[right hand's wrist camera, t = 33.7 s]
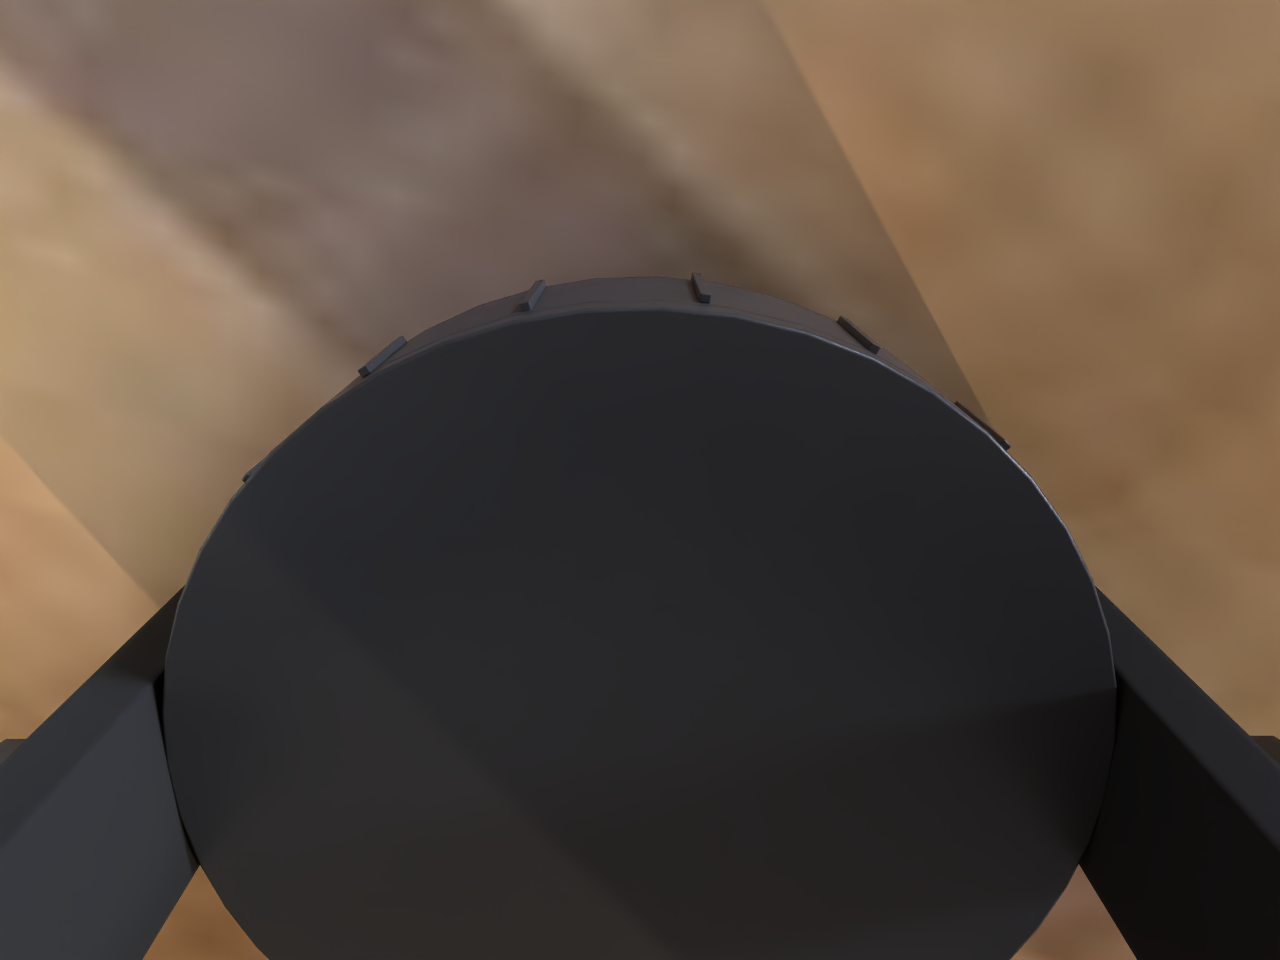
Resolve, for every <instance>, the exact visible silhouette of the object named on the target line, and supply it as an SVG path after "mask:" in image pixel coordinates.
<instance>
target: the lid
mask: <svg viewBox="0 0 1280 960" xmlns="http://www.w3.org/2000/svg"><path fill="white" fill-rule="evenodd" d="M358 372H359V373H360V376H359V377H358V378H356V379H355V380H354V381H353V382H352V383H350V384H349V385H348V386H347V387H346V388H344V389H343V390H342V391H341V392H340V393H338V394H337V395H336V396H335V397H334V398H332V399H331V400H330V401H329V402H328V403H326V404H325V405H324V406H323V407H322V408H320V409H319V410H318V411H317V412H316V413H315V414H313V415H312V416H311V417H310V418H309V419H308V420H307V421H305V422H304V423H303V424H302V425H301V426H300V427H299V428H297V429H296V430H295V431H294V432H293V433H292V434H291V435H289V436H288V437H287V438H286V439H285V440H284V441H283V442H281V443H280V444H279V445H278V446H277V447H276V448H274V449H273V450H272V451H271V452H270V453H269V455H268V456H267V457H265V458H264V459H263V460H262V461H261V462H259V463H258V464H257V465H256V466H255V467H253V468H252V469H251V470H250V471H249V472H247V473H246V475H245V476H244V477H243V479H242V481H244V482H245V483H244V484H243V485H242V487H241V488H240V489H239V490H238V491H237V492H236V494H235V495H234V496H233V497H232V498H231V500H230V501H229V503H228V505H227V506H226V508H225V510H224V511H223V513H222V514H221V516H220V518H219V519H218V521H217V523H216V524H215V526H214V528H213V529H212V531H211V533H210V534H209V536H208V537H207V539H206V541H205V542H204V544H203V546H202V547H201V549H200V551H199V553H198V556H197V558H196V561H195V563H194V565H193V568H192V570H191V573H190V575H189V578H188V580H187V583H186V585H185V588H184V590H183V592H182V595H181V597H180V600H179V602H178V606H177V610H176V614H175V619H174V623H173V627H172V632H171V636H170V640H169V645H168V649H167V653H166V658H165V672H164V688H163V703H162V720H163V731H164V741H165V752H166V760H167V765H168V770H169V774H170V779H171V783H172V787H173V792H174V796H175V800H176V804H177V808H178V812H179V816H180V818H181V820H182V823H183V825H184V828H185V830H186V833H187V835H188V837H189V840H190V842H191V845H192V847H193V849H194V852H195V854H196V857H197V859H198V861H199V863H200V865H201V867H202V869H203V870H204V872H205V874H206V875H207V877H208V879H209V880H210V882H211V884H212V886H213V887H214V889H215V891H216V892H217V894H218V896H219V897H220V899H221V901H222V902H223V904H224V906H225V907H226V909H227V910H228V911H229V912H230V914H231V915H232V916H233V918H234V919H235V920H236V921H237V923H238V924H239V925H240V926H241V928H242V929H243V930H244V932H245V933H246V934H247V935H248V937H249V938H250V939H251V941H252V942H253V943H254V944H255V946H256V947H257V948H258V949H259V950H260V951H261V952H262V953H263V954H264V955H265V956H266V957H267V958H268V959H269V960H1010V959H1011V958H1012V957H1013V956H1014V955H1015V954H1016V952H1017V951H1018V950H1019V949H1020V948H1021V947H1022V946H1023V945H1024V944H1025V942H1026V941H1027V940H1028V939H1029V938H1030V937H1031V936H1032V935H1033V934H1034V932H1035V931H1036V930H1037V929H1038V928H1039V926H1040V925H1041V923H1042V922H1043V920H1044V919H1045V918H1046V916H1047V915H1048V913H1049V912H1050V910H1051V909H1052V908H1053V906H1054V905H1055V903H1056V902H1057V900H1058V899H1059V897H1060V896H1061V895H1062V893H1063V892H1064V890H1065V889H1066V887H1067V885H1068V883H1069V881H1070V880H1071V878H1072V876H1073V874H1074V872H1075V870H1076V868H1077V866H1078V864H1079V862H1080V860H1081V858H1082V856H1083V854H1084V852H1085V850H1086V848H1087V846H1088V844H1089V842H1090V840H1091V837H1092V834H1093V831H1094V828H1095V825H1096V822H1097V819H1098V816H1099V813H1100V810H1101V808H1102V805H1103V801H1104V797H1105V792H1106V788H1107V783H1108V778H1109V773H1110V768H1111V764H1112V759H1113V754H1114V749H1115V743H1116V710H1117V685H1116V678H1115V671H1114V663H1113V656H1112V648H1111V641H1110V634H1109V630H1108V627H1107V624H1106V621H1105V617H1104V614H1103V611H1102V608H1101V604H1100V601H1099V598H1098V594H1097V591H1096V588H1095V585H1094V581H1093V579H1092V577H1091V575H1090V573H1089V571H1088V569H1087V567H1086V565H1085V562H1084V560H1083V558H1082V556H1081V554H1080V552H1079V550H1078V548H1077V546H1076V544H1075V542H1074V540H1073V538H1072V536H1071V534H1070V532H1069V530H1068V528H1067V526H1066V525H1065V524H1064V522H1063V521H1062V519H1061V518H1060V516H1059V515H1058V514H1057V512H1056V511H1055V509H1054V508H1053V507H1052V505H1051V504H1050V502H1049V501H1048V499H1047V498H1046V497H1045V495H1044V494H1043V492H1042V491H1041V490H1040V488H1039V487H1038V485H1037V484H1036V483H1035V481H1034V480H1033V478H1032V477H1031V476H1030V475H1029V474H1028V473H1027V472H1026V471H1025V470H1024V469H1023V468H1022V467H1021V466H1020V465H1019V464H1018V463H1017V462H1016V460H1015V459H1014V458H1013V457H1012V456H1011V455H1010V454H1009V453H1008V452H1007V450H1008V449H1009V448H1010V447H1011V446H1010V445H1009V443H1008V442H1007V441H1006V440H1005V439H1003V438H1002V437H1001V436H1000V435H998V434H997V433H996V432H995V431H994V430H992V429H991V428H990V427H989V426H987V425H986V424H985V423H984V422H982V421H981V420H980V419H979V418H977V417H976V416H975V415H974V414H973V413H971V412H970V411H969V410H968V409H966V408H965V407H964V406H963V405H961V404H960V403H959V402H958V401H956V402H955V403H952V402H951V401H950V400H949V399H948V398H946V397H945V396H944V395H943V394H941V393H940V392H939V391H938V390H937V389H935V388H934V387H933V386H932V385H931V384H929V383H928V382H927V381H926V380H924V379H923V378H922V377H920V376H919V375H918V374H917V373H915V372H914V371H913V370H911V369H910V368H909V367H907V366H906V365H905V364H903V363H902V362H901V361H900V360H898V359H897V358H896V357H894V356H893V355H892V354H890V353H889V352H888V351H887V350H885V349H884V348H883V347H881V346H879V345H878V344H877V343H875V342H874V341H873V340H872V339H871V338H869V337H868V336H867V335H866V334H865V333H864V332H862V331H861V330H860V329H859V328H858V327H856V326H855V325H854V324H853V323H852V322H850V321H849V320H848V319H846V318H844V317H842V316H840V317H839V319H838V321H837V322H836V321H835V320H833V319H831V318H828V317H826V316H823V315H821V314H818V313H816V312H813V311H810V310H808V309H805V308H803V307H800V306H798V305H795V304H793V303H790V302H787V301H785V300H782V299H780V298H777V297H774V296H769V295H765V294H761V293H757V292H753V291H749V290H745V289H741V288H736V287H732V286H728V285H724V284H720V283H713V282H705V281H704V279H703V277H702V275H701V274H699V273H692V277H691V280H684V279H675V278H665V277H628V278H595V279H589V280H583V281H577V282H571V283H565V284H559V285H553V286H546V284H545V281H544V280H540V281H536V282H535V283H534V285H533V286H532V287H531V289H530V290H528V291H525V292H522V293H519V294H515V295H512V296H509V297H505V298H502V299H499V300H496V301H492V302H489V303H486V304H483V305H479V306H477V307H475V308H472V309H470V310H468V311H466V312H464V313H462V314H460V315H457V316H455V317H453V318H451V319H449V320H447V321H444V322H442V323H440V324H438V325H436V326H434V327H431V328H429V329H427V330H425V331H423V332H422V333H420V334H419V335H417V336H416V337H414V338H413V339H411V340H409V341H408V342H407V341H406V340H405V338H404V337H403V336H401V337H400V338H398V339H396V340H395V341H394V342H393V343H391V344H390V345H389V346H388V347H386V348H385V349H384V350H383V351H381V352H380V353H379V354H378V355H376V356H375V357H374V358H373V359H371V360H370V361H369V362H368V363H367V364H365V365H364V366H363V367H362V368H360V369H359V370H358Z"/></svg>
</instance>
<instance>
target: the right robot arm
mask: <svg viewBox="0 0 1280 960" xmlns="http://www.w3.org/2000/svg"><path fill="white" fill-rule="evenodd" d="M184 588H185V586H184V587H183V588H182V589H180V590H179V591H178V592H177V593H176V594H175V595H174V596H173V597H172V598H171V599H170V600H169V601H168V602H167V603H166V604H165V605H164V606H163V607H162V608H161V609H160V610H159V611H158V612H157V613H156V614H155V615H154V616H153V617H152V618H151V619H150V620H149V621H148V622H146V623H145V624H144V625H143V626H142V627H141V628H140V629H139V630H138V631H137V632H136V633H135V634H134V635H133V636H132V637H131V638H130V639H129V640H128V641H127V642H126V643H125V644H124V645H123V646H122V647H121V648H120V649H119V650H118V651H117V652H116V653H115V654H114V655H113V656H111V657H110V658H109V659H108V660H107V661H106V662H105V663H104V664H103V665H102V666H101V667H100V668H99V669H98V670H97V671H96V672H95V673H94V674H93V675H92V676H91V677H90V678H89V679H88V680H87V681H86V682H85V683H84V684H83V685H82V686H81V687H80V688H79V689H77V690H76V691H75V692H74V693H73V694H72V695H71V696H70V697H69V698H68V699H67V700H66V701H65V702H64V703H63V704H62V705H61V706H60V707H59V708H58V709H57V710H56V711H55V712H54V713H53V714H52V715H51V716H50V717H49V718H48V719H47V720H46V721H45V722H44V723H42V724H41V725H40V726H39V727H38V728H37V729H36V730H35V731H34V732H33V733H32V734H31V735H30V736H29V737H28V738H27V739H6V740H4V741H3V742H1V743H0V960H142V959H143V957H144V956H145V954H146V952H147V951H148V949H149V947H150V946H151V944H152V943H153V941H154V939H155V938H156V936H157V934H158V933H159V931H160V929H161V928H162V926H163V924H164V923H165V921H166V920H167V918H168V916H169V915H170V913H171V911H172V910H173V908H174V906H175V905H176V903H177V902H178V900H179V898H180V897H181V895H182V893H183V892H184V890H185V888H186V887H187V885H188V883H189V882H190V880H191V879H192V877H193V875H194V874H195V872H196V870H197V869H198V867H199V865H200V863H199V861H198V859H197V857H196V854H195V852H194V849H193V847H192V845H191V842H190V840H189V837H188V835H187V833H186V830H185V828H184V825H183V823H182V820H181V818H180V816H179V812H178V808H177V804H176V800H175V796H174V792H173V787H172V783H171V779H170V774H169V770H168V765H167V760H166V752H165V741H164V731H163V720H162V703H163V688H164V672H165V658H166V653H167V649H168V645H169V640H170V636H171V632H172V627H173V623H174V619H175V614H176V610H177V606H178V602H179V600H180V597H181V595H182V592H183V590H184ZM1095 588H1096V591H1097V594H1098V598H1099V601H1100V604H1101V608H1102V611H1103V614H1104V617H1105V621H1106V624H1107V627H1108V630H1109V634H1110V641H1111V648H1112V656H1113V663H1114V671H1115V678H1116V685H1117V710H1116V743H1115V749H1114V754H1113V759H1112V764H1111V768H1110V773H1109V778H1108V783H1107V788H1106V792H1105V797H1104V801H1103V805H1102V808H1101V810H1100V813H1099V816H1098V819H1097V822H1096V825H1095V828H1094V831H1093V834H1092V837H1091V840H1090V842H1089V844H1088V846H1087V848H1086V850H1085V852H1084V854H1083V856H1082V858H1081V860H1080V862H1079V865H1080V867H1081V868H1082V870H1083V871H1084V873H1085V875H1086V876H1087V878H1088V880H1089V881H1090V883H1091V885H1092V886H1093V888H1094V890H1095V891H1096V893H1097V894H1098V896H1099V898H1100V899H1101V901H1102V903H1103V904H1104V906H1105V908H1106V909H1107V911H1108V913H1109V914H1110V916H1111V917H1112V919H1113V921H1114V922H1115V924H1116V926H1117V927H1118V929H1119V931H1120V932H1121V934H1122V935H1123V937H1124V939H1125V940H1126V942H1127V944H1128V945H1129V947H1130V949H1131V950H1132V952H1133V954H1134V955H1135V957H1136V958H1137V960H1280V740H1279V739H1278V738H1276V737H1274V736H1249V735H1248V734H1247V733H1246V732H1245V731H1244V730H1243V729H1242V728H1241V727H1240V726H1239V725H1238V724H1237V723H1236V722H1235V721H1234V720H1233V719H1232V718H1231V717H1230V716H1229V715H1227V714H1226V713H1225V712H1224V711H1223V710H1222V709H1221V708H1220V707H1219V706H1218V705H1217V704H1216V703H1215V702H1214V701H1213V700H1212V699H1211V698H1210V697H1209V696H1208V695H1207V694H1206V693H1205V692H1204V691H1203V690H1202V689H1201V688H1200V687H1199V686H1198V685H1197V684H1196V683H1195V682H1194V681H1192V680H1191V679H1190V678H1189V677H1188V676H1187V675H1186V674H1185V673H1184V672H1183V671H1182V670H1181V669H1180V668H1179V667H1178V666H1177V665H1176V664H1175V663H1174V662H1173V661H1172V660H1171V659H1170V658H1169V657H1168V656H1167V655H1166V654H1165V653H1164V652H1163V651H1162V650H1161V649H1160V648H1159V647H1157V646H1156V645H1155V644H1154V643H1153V642H1152V641H1151V640H1150V639H1149V638H1148V637H1147V636H1146V635H1145V634H1144V633H1143V632H1142V631H1141V630H1140V629H1139V628H1138V627H1137V626H1136V625H1135V624H1134V623H1133V622H1132V621H1131V620H1130V619H1129V618H1128V617H1127V616H1126V615H1125V614H1124V613H1122V612H1121V611H1120V610H1119V609H1118V608H1117V607H1116V606H1115V605H1114V604H1113V603H1112V602H1111V601H1110V600H1109V599H1108V598H1107V597H1106V596H1105V595H1104V594H1103V593H1102V592H1101V591H1100V590H1099V589H1098V588H1097V587H1096V586H1095Z"/></svg>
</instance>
